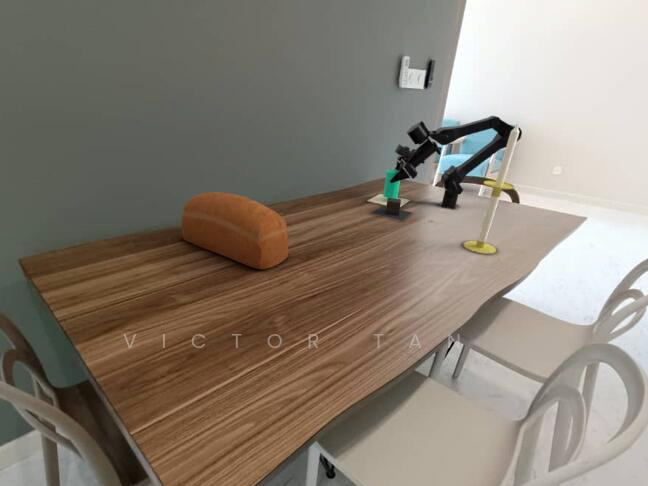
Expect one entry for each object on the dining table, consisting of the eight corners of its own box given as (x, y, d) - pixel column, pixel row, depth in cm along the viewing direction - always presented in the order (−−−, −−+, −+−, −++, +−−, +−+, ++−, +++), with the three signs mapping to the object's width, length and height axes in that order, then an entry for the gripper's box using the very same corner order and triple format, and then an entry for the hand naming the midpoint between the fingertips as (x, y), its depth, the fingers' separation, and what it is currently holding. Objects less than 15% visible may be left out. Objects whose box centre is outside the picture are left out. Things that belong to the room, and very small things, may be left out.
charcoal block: (385, 210, 154) (387, 197, 151) (398, 211, 153) (400, 198, 150) (385, 214, 149) (387, 201, 147) (398, 215, 149) (400, 202, 146)
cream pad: (379, 194, 174) (379, 193, 174) (410, 201, 168) (410, 200, 168) (366, 201, 163) (367, 200, 163) (398, 209, 157) (399, 207, 157)
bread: (261, 273, 102) (261, 216, 94) (178, 240, 118) (172, 188, 110) (292, 257, 112) (295, 203, 104) (212, 228, 128) (209, 180, 120)
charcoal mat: (382, 207, 158) (383, 205, 158) (411, 213, 153) (411, 212, 153) (371, 214, 150) (371, 213, 149) (401, 221, 144) (401, 220, 144)
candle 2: (472, 239, 133) (507, 118, 114) (501, 249, 127) (544, 123, 108) (457, 246, 127) (492, 119, 108) (487, 256, 121) (530, 124, 102)
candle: (399, 198, 162) (404, 168, 156) (385, 198, 162) (389, 168, 155) (395, 194, 167) (399, 165, 161) (381, 194, 167) (385, 165, 160)
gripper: (405, 134, 160) (375, 160, 166) (414, 141, 144) (380, 170, 150) (421, 155, 164) (390, 180, 170) (431, 164, 148) (397, 192, 154)
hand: (389, 180), depth 161 cm, fingers closed on candle, 5 cm apart
